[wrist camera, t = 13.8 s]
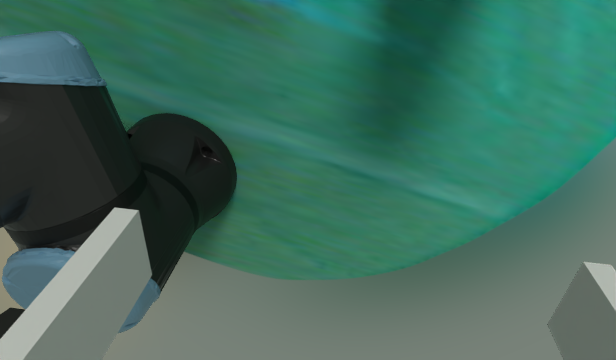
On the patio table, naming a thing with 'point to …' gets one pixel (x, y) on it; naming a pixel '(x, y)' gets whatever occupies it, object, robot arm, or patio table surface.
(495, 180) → the patio table surface
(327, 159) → the patio table surface
